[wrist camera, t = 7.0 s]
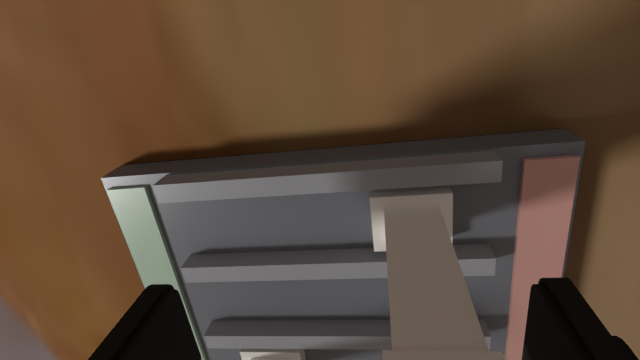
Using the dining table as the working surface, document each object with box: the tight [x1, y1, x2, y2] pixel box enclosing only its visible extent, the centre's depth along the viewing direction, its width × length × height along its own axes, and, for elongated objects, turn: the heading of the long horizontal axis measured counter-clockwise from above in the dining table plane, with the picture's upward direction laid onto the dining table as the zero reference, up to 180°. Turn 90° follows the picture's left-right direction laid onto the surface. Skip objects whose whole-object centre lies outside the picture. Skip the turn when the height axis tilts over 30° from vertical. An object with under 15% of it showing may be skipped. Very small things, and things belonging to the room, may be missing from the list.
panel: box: [101, 128, 586, 360], centre depth 17 cm, size 19×13×2 cm
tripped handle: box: [369, 185, 506, 360], centre depth 11 cm, size 3×2×9 cm
